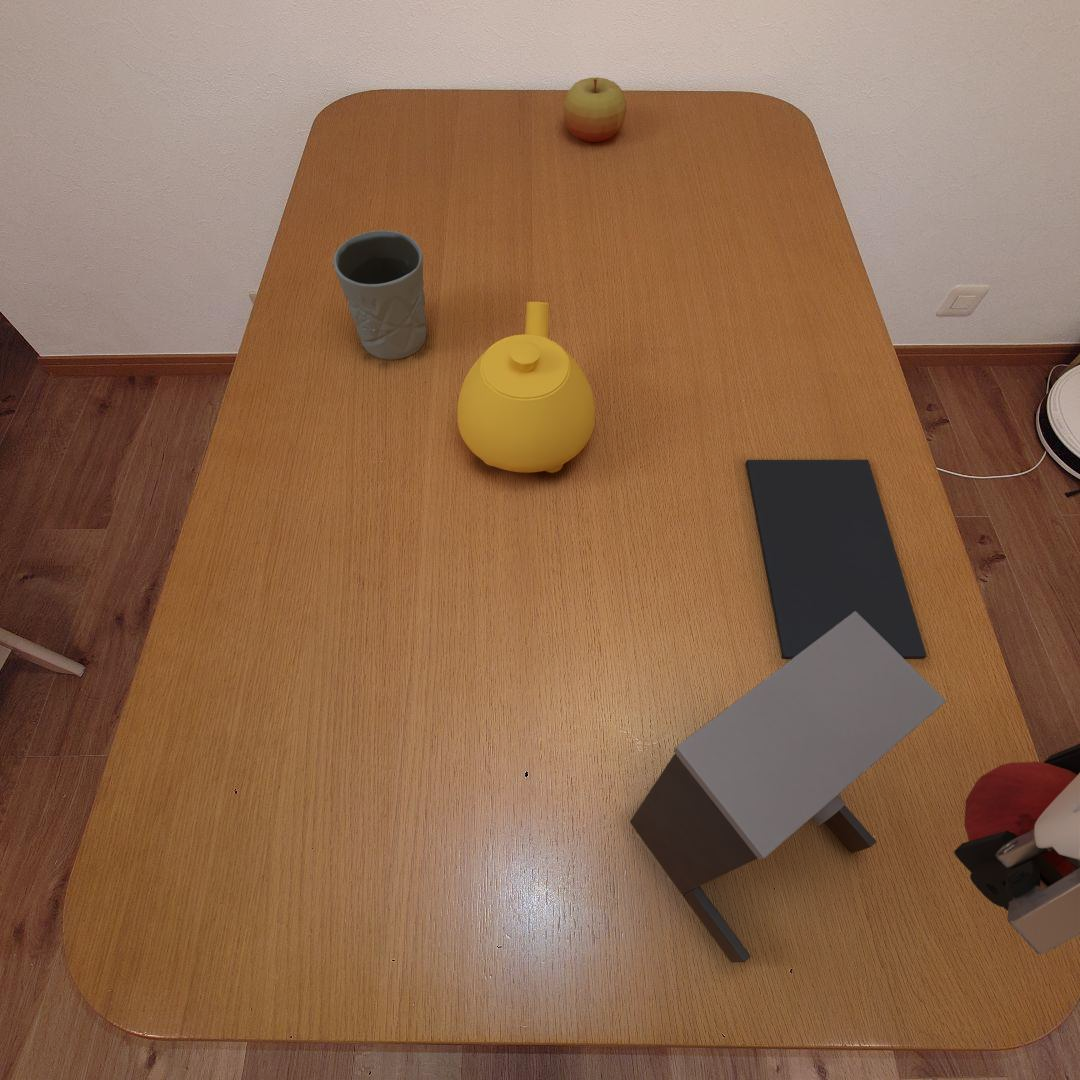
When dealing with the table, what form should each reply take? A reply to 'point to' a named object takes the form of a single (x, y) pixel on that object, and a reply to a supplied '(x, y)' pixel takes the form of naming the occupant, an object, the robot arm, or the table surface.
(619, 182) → the table surface
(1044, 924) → the robot arm
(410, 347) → the grey cup
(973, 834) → the pomegranate
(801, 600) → the mat
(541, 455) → the teapot
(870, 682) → the grey legged box
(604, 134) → the apple
